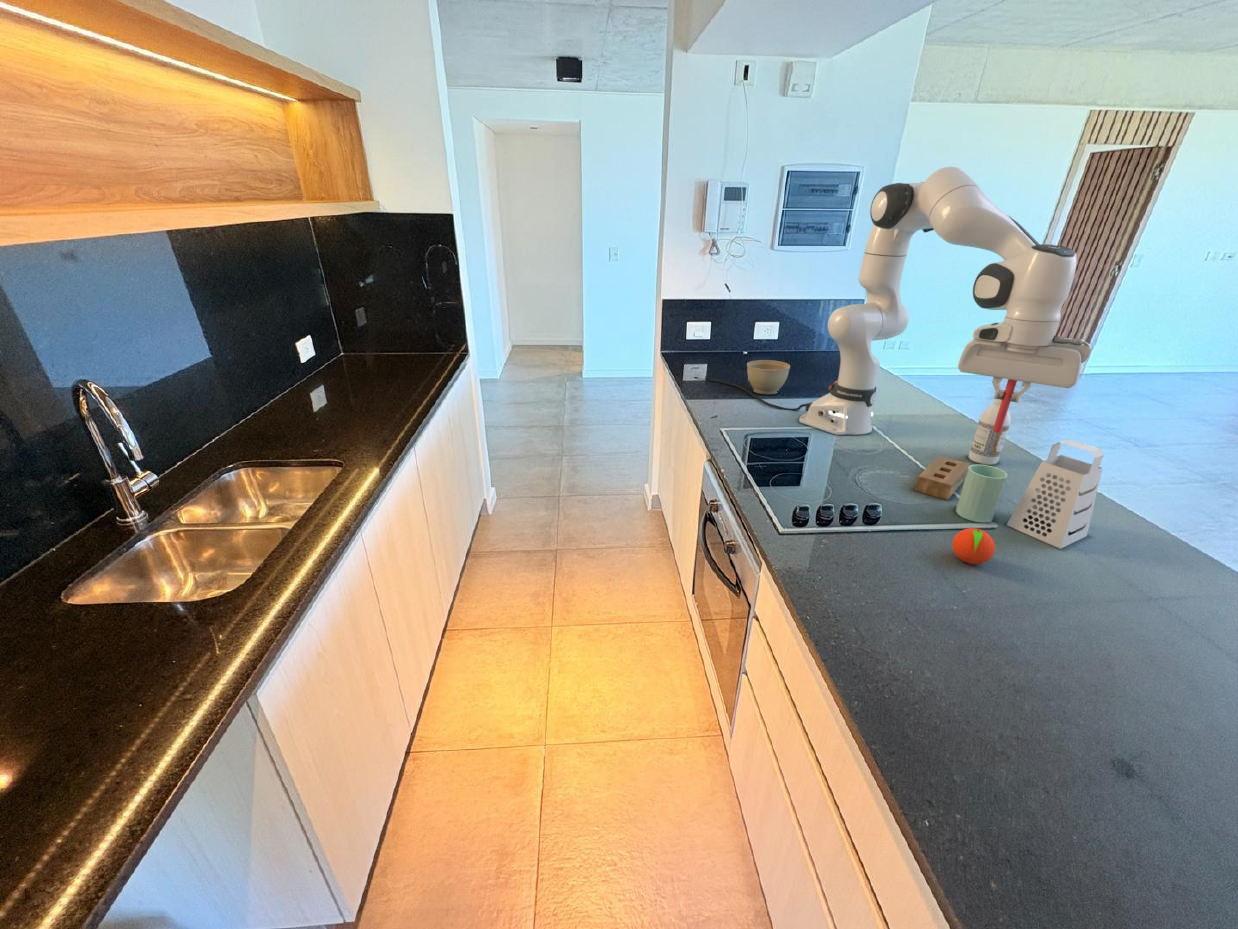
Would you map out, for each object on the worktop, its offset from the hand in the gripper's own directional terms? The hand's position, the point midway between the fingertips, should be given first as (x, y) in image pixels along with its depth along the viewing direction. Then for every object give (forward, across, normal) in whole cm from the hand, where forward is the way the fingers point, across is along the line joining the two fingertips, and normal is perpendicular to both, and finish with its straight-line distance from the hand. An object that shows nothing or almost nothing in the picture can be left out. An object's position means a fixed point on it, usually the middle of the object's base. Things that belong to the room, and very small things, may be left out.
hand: (1006, 400), depth 111 cm
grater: (+27, -14, -2) cm, 30 cm away
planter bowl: (+27, +83, -52) cm, 102 cm away
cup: (+27, -1, +1) cm, 27 cm away
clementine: (+27, -5, +23) cm, 36 cm away
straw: (+7, 0, 0) cm, 7 cm away
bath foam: (+27, +5, -35) cm, 45 cm away
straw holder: (+27, +9, -11) cm, 30 cm away
